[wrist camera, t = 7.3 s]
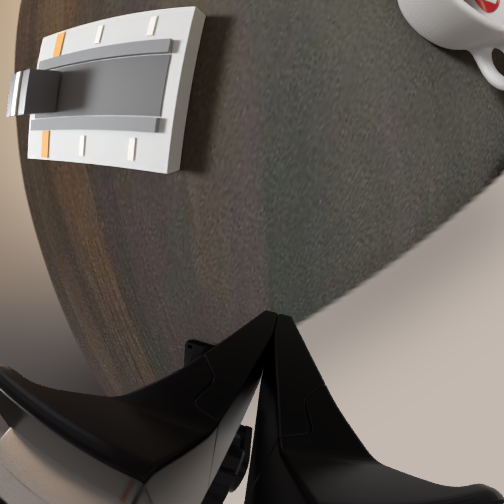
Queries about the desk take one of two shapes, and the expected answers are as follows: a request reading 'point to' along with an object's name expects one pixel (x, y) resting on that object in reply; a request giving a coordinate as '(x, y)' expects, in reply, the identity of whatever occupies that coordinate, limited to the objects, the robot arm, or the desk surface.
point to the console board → (120, 90)
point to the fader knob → (33, 92)
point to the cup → (461, 28)
